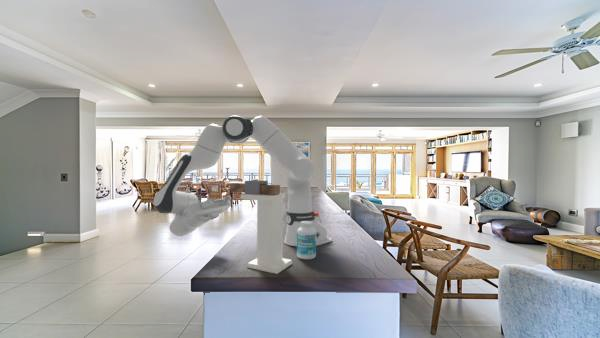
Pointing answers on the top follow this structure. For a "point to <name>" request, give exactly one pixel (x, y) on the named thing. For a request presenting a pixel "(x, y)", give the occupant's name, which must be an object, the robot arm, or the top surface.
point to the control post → (267, 229)
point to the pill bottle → (306, 241)
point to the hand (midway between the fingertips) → (221, 198)
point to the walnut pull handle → (263, 188)
